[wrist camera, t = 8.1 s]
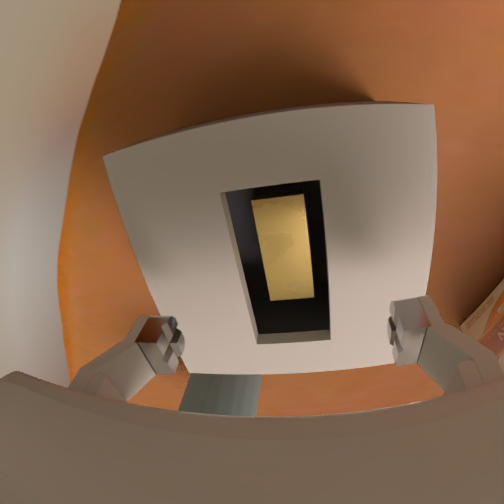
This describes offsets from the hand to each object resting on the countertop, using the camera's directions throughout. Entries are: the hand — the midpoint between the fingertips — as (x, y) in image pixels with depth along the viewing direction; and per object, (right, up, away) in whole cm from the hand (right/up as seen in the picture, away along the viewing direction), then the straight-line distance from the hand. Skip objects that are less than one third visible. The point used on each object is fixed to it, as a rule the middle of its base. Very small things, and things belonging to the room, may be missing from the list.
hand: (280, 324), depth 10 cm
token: (+1, +5, +10) cm, 11 cm away
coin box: (+2, +6, +10) cm, 12 cm away
